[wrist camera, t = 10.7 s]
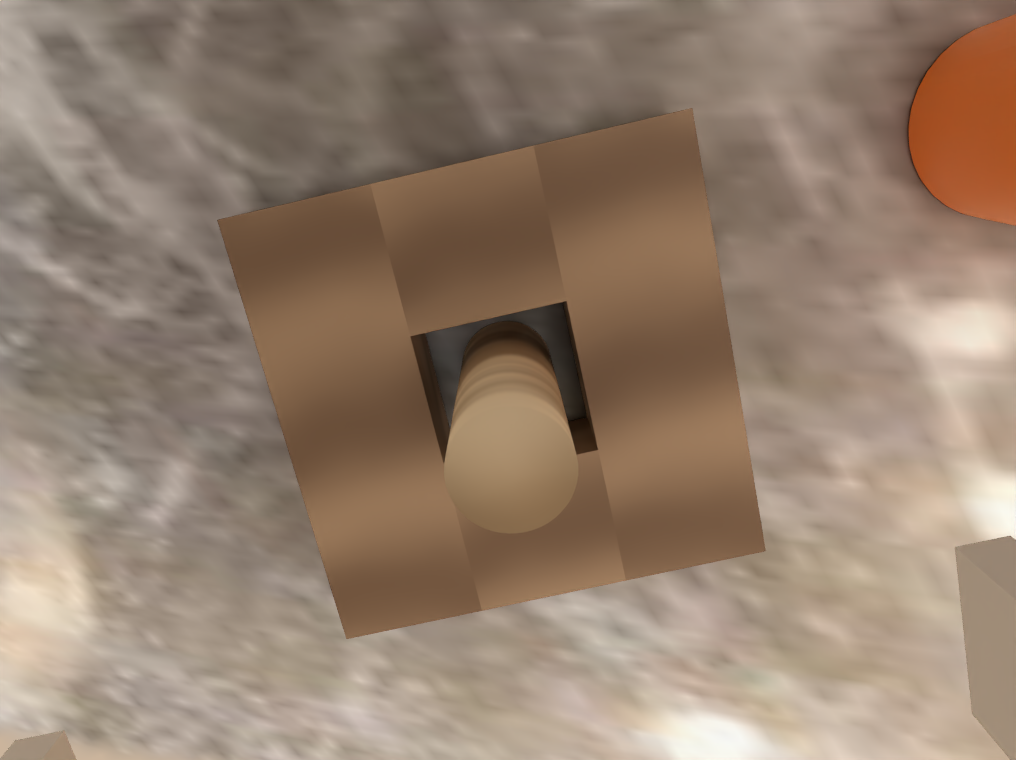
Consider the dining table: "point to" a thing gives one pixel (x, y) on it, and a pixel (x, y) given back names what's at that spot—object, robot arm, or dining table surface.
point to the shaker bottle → (970, 124)
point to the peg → (509, 433)
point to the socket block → (487, 294)
